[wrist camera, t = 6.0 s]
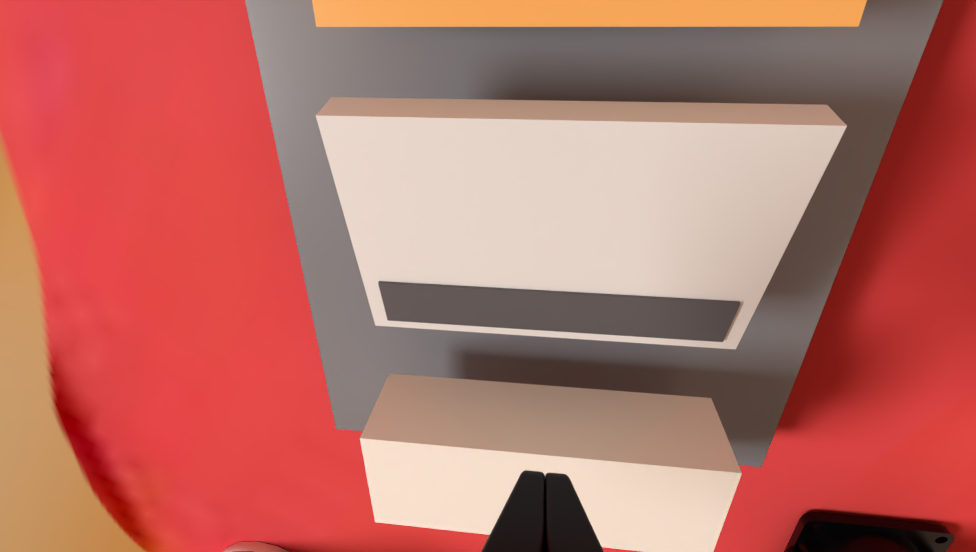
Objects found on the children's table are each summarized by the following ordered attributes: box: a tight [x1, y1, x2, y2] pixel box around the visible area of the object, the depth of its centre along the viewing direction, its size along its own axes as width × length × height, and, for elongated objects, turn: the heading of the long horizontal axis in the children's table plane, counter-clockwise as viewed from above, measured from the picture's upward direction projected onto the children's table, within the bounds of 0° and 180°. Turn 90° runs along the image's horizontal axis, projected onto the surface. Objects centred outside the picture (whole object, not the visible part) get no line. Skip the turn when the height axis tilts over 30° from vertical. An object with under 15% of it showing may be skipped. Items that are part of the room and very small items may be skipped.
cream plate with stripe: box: [316, 97, 847, 349], centre depth 13 cm, size 11×7×1 cm, turn 91°
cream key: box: [360, 373, 742, 552], centre depth 16 cm, size 11×4×3 cm, turn 91°
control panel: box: [245, 0, 943, 467], centre depth 15 cm, size 18×22×4 cm
